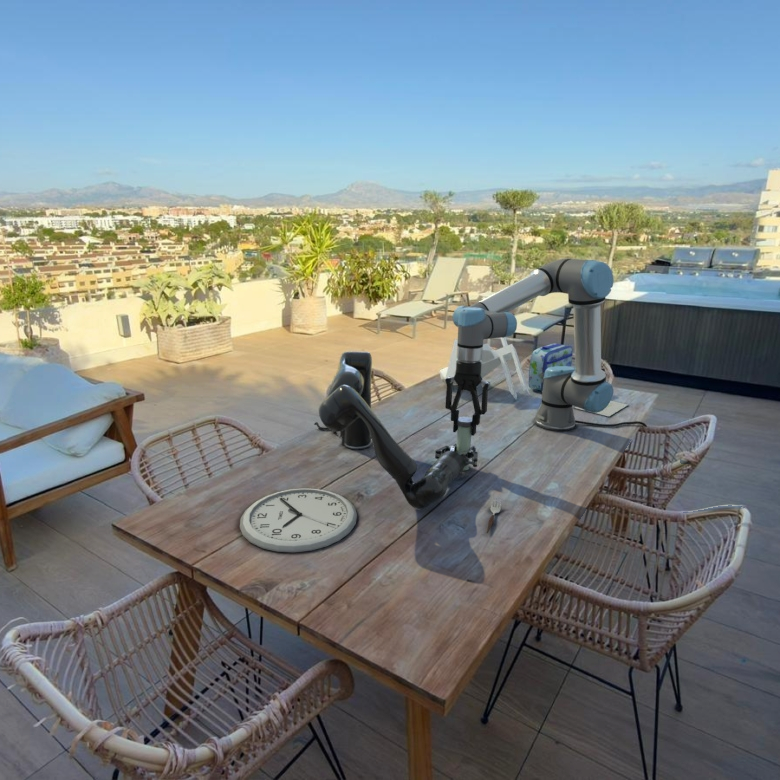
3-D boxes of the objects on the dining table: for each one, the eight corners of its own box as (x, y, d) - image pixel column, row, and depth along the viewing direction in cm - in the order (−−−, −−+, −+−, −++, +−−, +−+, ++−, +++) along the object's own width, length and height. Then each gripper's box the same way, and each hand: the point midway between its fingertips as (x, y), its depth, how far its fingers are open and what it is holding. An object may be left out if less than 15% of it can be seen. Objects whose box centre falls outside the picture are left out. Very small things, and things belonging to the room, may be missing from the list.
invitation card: (608, 416, 214) (573, 407, 224) (608, 416, 214) (573, 408, 224) (628, 404, 229) (594, 396, 238) (628, 405, 229) (594, 397, 238)
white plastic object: (461, 429, 252) (437, 405, 227) (444, 352, 274) (420, 323, 250) (535, 404, 240) (518, 377, 215) (510, 326, 262) (492, 293, 237)
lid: (474, 422, 164) (475, 417, 163) (471, 428, 159) (472, 423, 159) (458, 420, 165) (458, 415, 165) (454, 426, 161) (454, 421, 160)
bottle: (470, 466, 168) (473, 419, 163) (467, 471, 164) (470, 423, 159) (457, 463, 169) (459, 417, 164) (454, 469, 165) (456, 422, 161)
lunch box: (544, 395, 239) (549, 351, 233) (524, 390, 247) (528, 347, 240) (571, 384, 257) (577, 343, 251) (552, 380, 264) (556, 339, 258)
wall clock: (358, 544, 122) (227, 548, 120) (358, 550, 123) (228, 554, 120) (355, 484, 151) (250, 486, 148) (355, 489, 151) (250, 491, 149)
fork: (481, 533, 130) (482, 526, 130) (492, 503, 145) (493, 497, 144) (492, 535, 130) (492, 528, 129) (501, 505, 144) (502, 499, 143)
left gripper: (471, 461, 148) (488, 440, 163) (425, 451, 155) (445, 432, 169) (469, 484, 151) (486, 462, 165) (424, 474, 157) (444, 453, 171)
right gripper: (502, 360, 156) (496, 433, 163) (444, 354, 163) (440, 423, 170) (496, 366, 149) (490, 441, 156) (436, 359, 156) (432, 431, 163)
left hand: (465, 447), depth 167 cm, fingers closed on bottle, 4 cm apart
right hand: (464, 432), depth 163 cm, fingers closed on lid, 5 cm apart
